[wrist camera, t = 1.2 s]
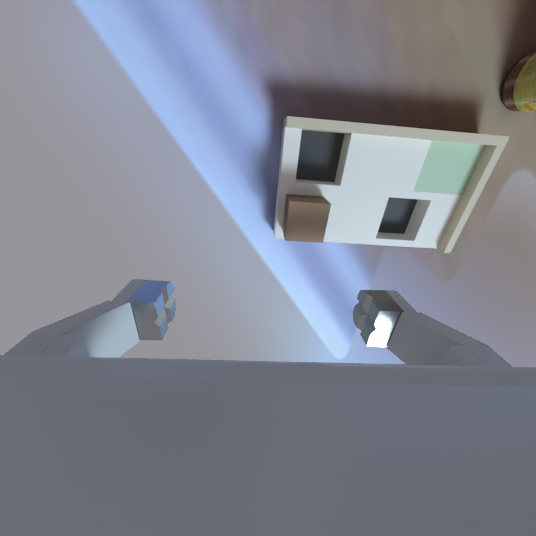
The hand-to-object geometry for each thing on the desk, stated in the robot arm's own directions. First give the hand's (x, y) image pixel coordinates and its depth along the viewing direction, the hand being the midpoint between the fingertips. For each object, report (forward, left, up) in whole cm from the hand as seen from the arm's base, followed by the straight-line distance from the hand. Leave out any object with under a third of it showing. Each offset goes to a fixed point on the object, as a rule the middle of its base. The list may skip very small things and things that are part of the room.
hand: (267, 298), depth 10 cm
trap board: (-1, +15, -26) cm, 30 cm away
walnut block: (+3, +6, -23) cm, 24 cm away
